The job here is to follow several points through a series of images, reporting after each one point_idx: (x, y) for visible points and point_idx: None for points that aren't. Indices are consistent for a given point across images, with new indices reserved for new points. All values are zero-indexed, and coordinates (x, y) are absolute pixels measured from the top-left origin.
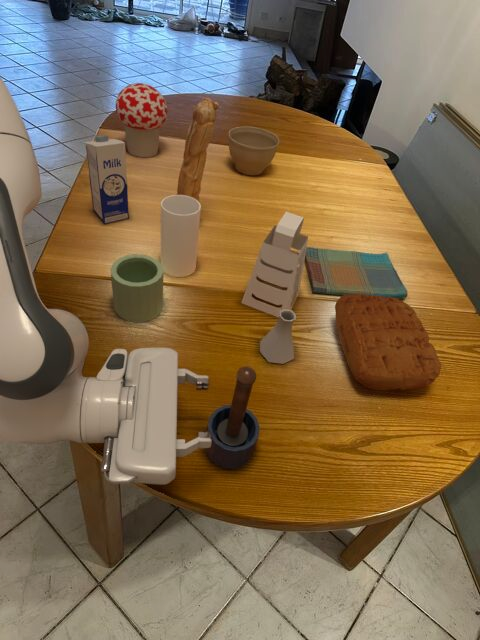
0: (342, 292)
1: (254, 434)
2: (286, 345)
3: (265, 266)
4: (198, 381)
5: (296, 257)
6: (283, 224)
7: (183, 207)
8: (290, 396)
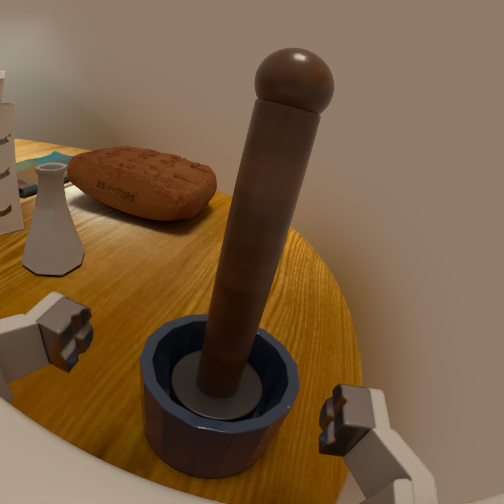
0: None
1: None
2: (70, 226)
3: None
4: (54, 326)
5: (11, 109)
6: None
7: None
8: (142, 287)
